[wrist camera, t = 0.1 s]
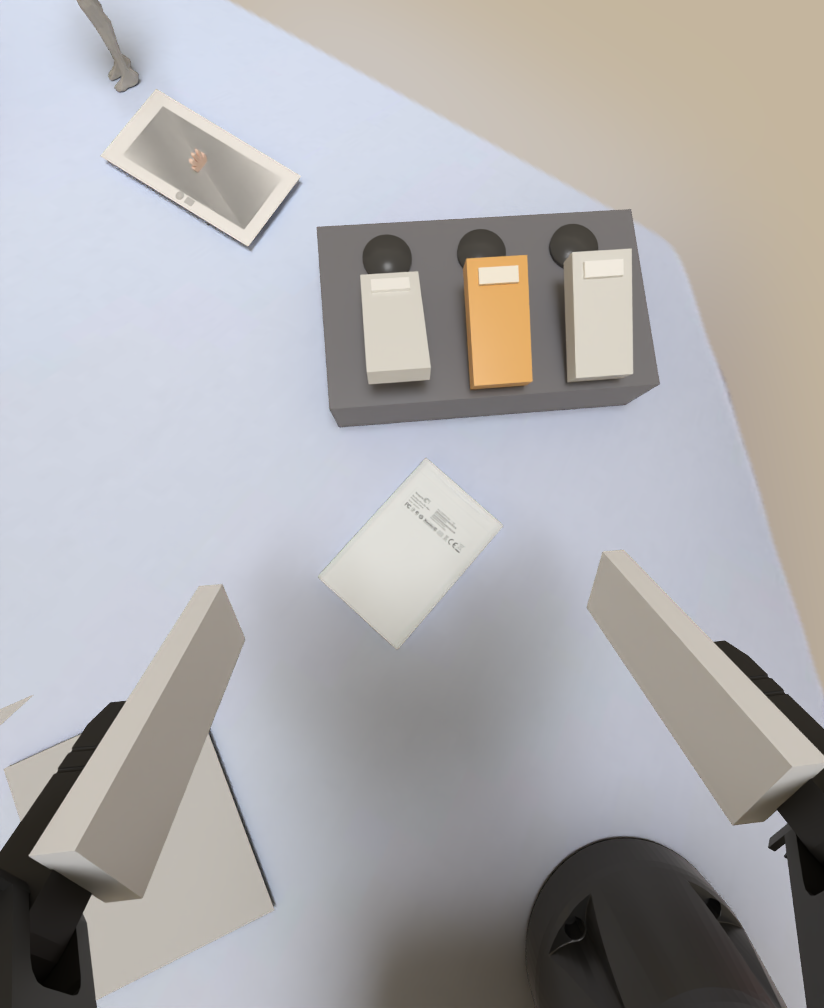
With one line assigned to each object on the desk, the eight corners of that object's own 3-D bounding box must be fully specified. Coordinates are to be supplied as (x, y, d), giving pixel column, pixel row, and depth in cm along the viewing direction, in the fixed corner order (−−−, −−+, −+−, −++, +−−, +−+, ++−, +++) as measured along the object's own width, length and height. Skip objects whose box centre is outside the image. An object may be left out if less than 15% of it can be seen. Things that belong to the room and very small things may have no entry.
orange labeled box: (526, 385, 25) (533, 380, 24) (470, 389, 25) (474, 385, 24) (520, 265, 24) (528, 253, 23) (462, 268, 24) (466, 256, 23)
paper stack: (-47, 1064, 24) (-60, 1079, 23) (-149, 711, 26) (-165, 716, 25) (277, 900, 26) (274, 910, 25) (157, 579, 28) (151, 580, 27)
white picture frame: (164, 104, 32) (147, 72, 30) (304, 188, 31) (297, 162, 29) (111, 169, 31) (89, 141, 29) (253, 256, 31) (242, 235, 28)
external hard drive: (321, 574, 28) (424, 460, 29) (398, 644, 28) (499, 526, 29) (316, 576, 27) (425, 456, 28) (397, 651, 26) (505, 525, 27)
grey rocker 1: (429, 379, 23) (431, 365, 22) (368, 384, 23) (366, 370, 22) (417, 286, 26) (418, 268, 24) (362, 290, 25) (359, 272, 24)
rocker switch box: (625, 404, 30) (662, 382, 25) (339, 427, 29) (328, 407, 25) (601, 251, 31) (633, 205, 27) (327, 268, 30) (315, 223, 26)
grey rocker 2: (621, 378, 25) (635, 373, 24) (567, 382, 25) (577, 377, 24) (620, 259, 24) (633, 246, 23) (563, 262, 24) (573, 250, 23)
